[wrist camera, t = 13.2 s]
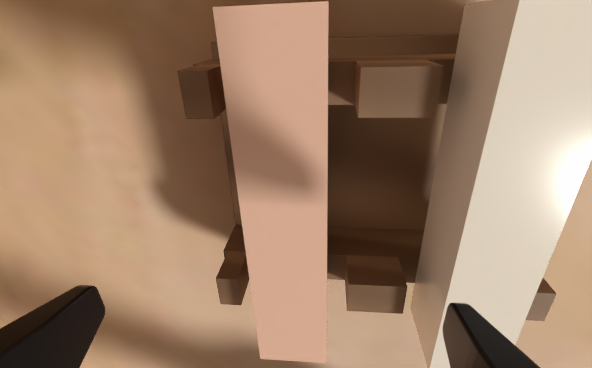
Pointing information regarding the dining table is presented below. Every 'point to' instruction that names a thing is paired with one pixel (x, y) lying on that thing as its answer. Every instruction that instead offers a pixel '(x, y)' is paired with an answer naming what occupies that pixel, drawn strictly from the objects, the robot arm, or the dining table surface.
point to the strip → (505, 163)
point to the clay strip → (281, 166)
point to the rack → (362, 164)
